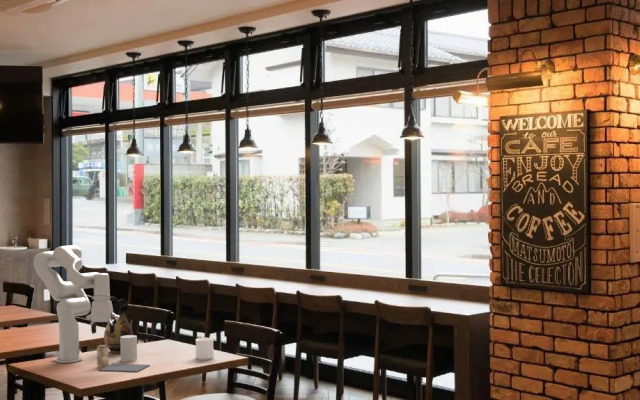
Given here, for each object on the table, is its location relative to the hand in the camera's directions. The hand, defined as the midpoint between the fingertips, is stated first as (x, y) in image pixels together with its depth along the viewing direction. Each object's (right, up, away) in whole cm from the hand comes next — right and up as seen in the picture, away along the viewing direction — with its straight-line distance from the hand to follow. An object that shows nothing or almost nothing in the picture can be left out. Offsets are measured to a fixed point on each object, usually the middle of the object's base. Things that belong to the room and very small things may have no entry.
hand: (103, 333), depth 387 cm
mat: (+12, -16, -5) cm, 21 cm away
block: (0, -16, 0) cm, 16 cm away
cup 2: (+47, -16, +17) cm, 53 cm away
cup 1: (+9, -16, +15) cm, 24 cm away
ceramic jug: (-2, -17, +37) cm, 40 cm away
